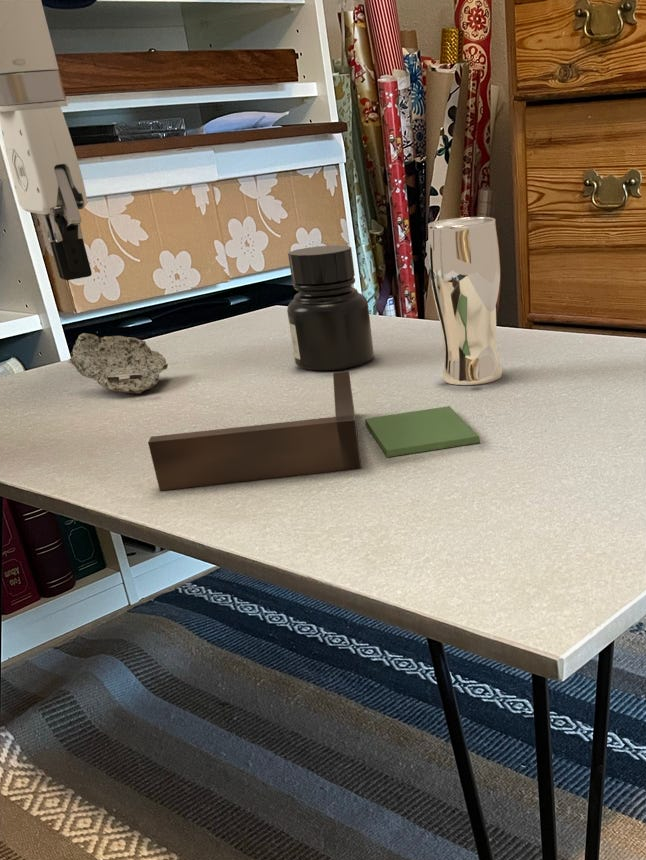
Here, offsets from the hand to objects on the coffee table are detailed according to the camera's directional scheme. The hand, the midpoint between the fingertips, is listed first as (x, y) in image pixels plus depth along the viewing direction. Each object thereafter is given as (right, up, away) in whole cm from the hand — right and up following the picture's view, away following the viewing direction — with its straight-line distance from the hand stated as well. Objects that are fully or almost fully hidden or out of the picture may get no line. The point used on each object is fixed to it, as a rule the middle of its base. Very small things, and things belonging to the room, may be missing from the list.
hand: (76, 277), depth 112 cm
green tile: (+41, -23, -26) cm, 54 cm away
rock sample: (+8, -14, -4) cm, 16 cm away
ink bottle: (+30, -10, 0) cm, 31 cm away
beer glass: (+45, -14, -10) cm, 49 cm away
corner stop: (+27, -25, -26) cm, 45 cm away
